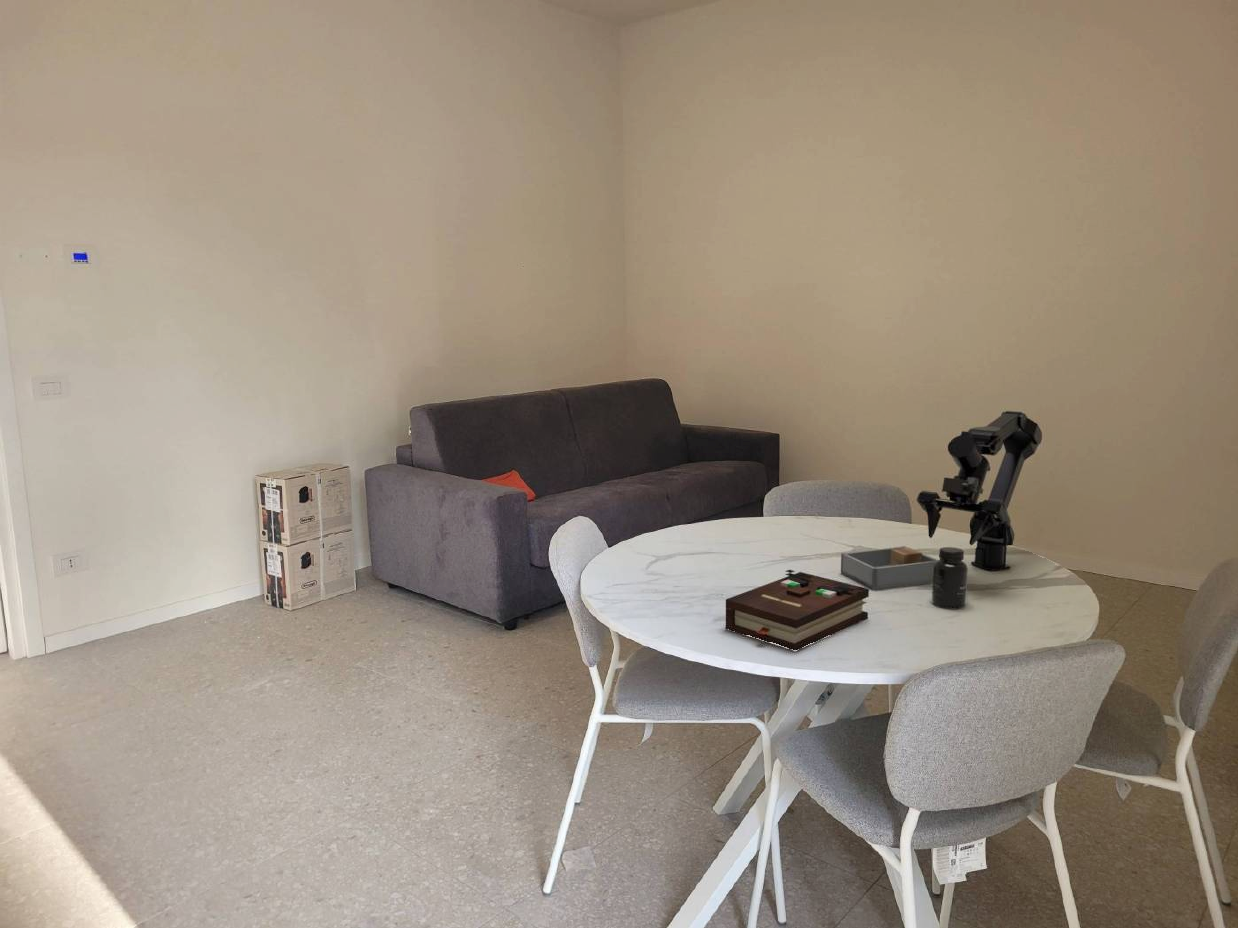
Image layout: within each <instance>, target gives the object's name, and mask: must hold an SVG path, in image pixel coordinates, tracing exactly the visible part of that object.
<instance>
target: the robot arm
mask: <svg viewBox="0 0 1238 928" xmlns="http://www.w3.org/2000/svg"><path fill="white" fill-rule="evenodd" d="M1042 440H1043V432H1042V430H1041V428H1040V426H1039V424H1038V423H1036V422H1035V421H1034V420H1032V419H1030V418H1028V416H1027V414H1026V413H1024V412H1022V411H1013V410H1006V411H1002V413H1001V415H1000V416H998V417H997V418H996V419H994V420H993V421H991V422H990V423H989V424H987V425H985V426H978V427H977V426H975V427H971V428H970V429H968V430H967V431H963V430H962V431H961V434H960V435H958V436H955V437H954V438H952V439H951V441H949V442H948V444H947V451H948V453H949V455H950V456H951V459H952V460H953V461H954V462H955V464H956V466H957V467H958V468H959V470H958V472H957V473H958V474H957V475H954V477H953V478H950V477H943V482H942V487H941V488H942V489H941V492H943V493H946V494H945V495H946V497H947V498H949V499H945V498H941V497H940V495H939V493H937V492H934V491H927V490H922V491H920V492H919V493H918V494H917V498H916V502H917V503H918V505H919V506H920V508H921V509H922V510H923V511H924V512H926V514H927V525H928V526H927V528H928V537H929V538H930V539H932V538H933V536H934V535H935V532H936V530H937V527H938V524H939V522H940V520H941V516H942V514H941V513H940V512H941V511H942V510H943V509H944V508H945V509H948V510H949V509H950V510H954V511H955V510H957V511H963V512H968V513H973V515H972V516H971V518H970V521H969V531H970V537H969V545H970V546H974V544H975V543H976V547H975V549H974V550H975V552H974V553H975V554H974V560H973V561H971V563H970V564H971V565H973V566H976V567H978V568H981V569H983V570H986V571H998V570H1005V569H1011V565H1008V564H1006V563H1007V562H1006V561H1007V560H1006V559H1007V549H1008V548H1007V547H1008V546H1013V545H1014V540H1015V532H1014V530H1013V527H1012V524H1011V521H1012V520H1011V518H1010V515H1009V511H1008V508H1009V505H1010V503H1011V500H1012V497H1013V494H1014V491H1015V488H1016V486H1017V483H1018V479H1019V477H1020V474H1021V472H1022V470H1023V469H1022V468H1023V466H1024V463H1025V461H1026V460H1027V459H1029V458H1030V457H1032V456H1033V455H1034V454H1035V453H1036V451H1037V449H1038V447H1039V445H1040V444H1041V443H1042ZM1002 447H1004V455H1003V458H1002V461H1001V462H1000V466H999V468H998V471H997V474H996V477H995V480H994V482H993V485H992V488H991V490H990V494H989V496H988V499H984V500H982V501H979V498H980V495H982V494H984V493H983V492H984V489H983V485H984V483H985V479H986V476H987V474H988V472H990V471H991V464H990V462H989V461H988V458H987V457H986V456H996V455H998V454H999V452H1000V451H1001V450H1002V449H1003V448H1002ZM978 501H979V502H978Z"/></svg>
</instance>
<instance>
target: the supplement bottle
mask: <svg viewBox="0 0 1238 928" xmlns="http://www.w3.org/2000/svg"><path fill="white" fill-rule="evenodd" d="M964 553H965V552H964V549H961V548H958V547H951V546H949V547H948V546H946V547H945V546H943V547H941V548H939V553H938V558H939V559H937V560H938V561H936V562H935V564H934V571H933V583H932V590H931V592H932V593H931V602H932V603H933V604H934V605H935V606H937V607H939V608H945V609H960V608H963V607H964V606H965V605H966V600H967V584H968V570H969V569H968V566H967V563H965V562H964V555H965V554H964Z"/></svg>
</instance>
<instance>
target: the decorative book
mask: <svg viewBox="0 0 1238 928" xmlns="http://www.w3.org/2000/svg"><path fill="white" fill-rule="evenodd" d="M794 572H796V571H795V570H792V569H787V570H785V574H784V575H786V577H782V578H780V579H777V580H774V581H772V582H769V583H767V584H764V585H760V586H758V587H755V588H753V589H750V590H747V591H745V592H741V593H739V594H736V595H733V596H730V597H729V598H726V599H725V630H726V629H729V630H731V631H735V632H737V633H736V634H738V633H740V634H739V635H741V634H744V635H750V636H752V637H755V638H759V639H761V640H764V641H767V642H773V643H776V644H779V645H781V646H784V647H787V648H789V649H793V650H798V649H800V648H802V647H804V646H806V645H808V644H810V643H813V642H816V641H818V640H820V639H822V638H824V637H826V636H828V635H831V636H833V635H835V634H837V633H839V632H838V631H840V630H842V631H844V630H845V628H846V629H848V628H850V627H852V626H854V624H855V625H857V624H858V623H861V622H863V621H865V620H868V618H869V617H868V615H869V612H867V611H864V610H863V605H865V604H867V603H868V601H864V599H866V598H869V595H870V594H869V593H870V592H869V591H870V589H869V588H868V587H863V586H859V585H855V584H850V583H847V582H842V581H839V580H835V579H830V578H827V577H822V576H817V575H814V574H810V573H806V572H802V571H799V572H796V573H794ZM860 621H861V622H860ZM847 627H848V628H847ZM843 629H844V630H843ZM731 631H730V632H731ZM735 632H734V633H735ZM836 632H837V633H836ZM840 632H841V631H840ZM832 634H833V635H832ZM744 635H743V636H744ZM822 640H823V639H822ZM820 641H821V640H820ZM818 642H819V641H818ZM816 643H817V642H816Z"/></svg>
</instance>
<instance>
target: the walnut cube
mask: <svg viewBox="0 0 1238 928" xmlns="http://www.w3.org/2000/svg"><path fill="white" fill-rule="evenodd" d="M907 547H908V546H907ZM922 554H923V552H921V551H919V550H916V549H914V548H911V547H908V548H899V549H891V562H890V566H895V565H903V564H911V563H919V562H922Z"/></svg>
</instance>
